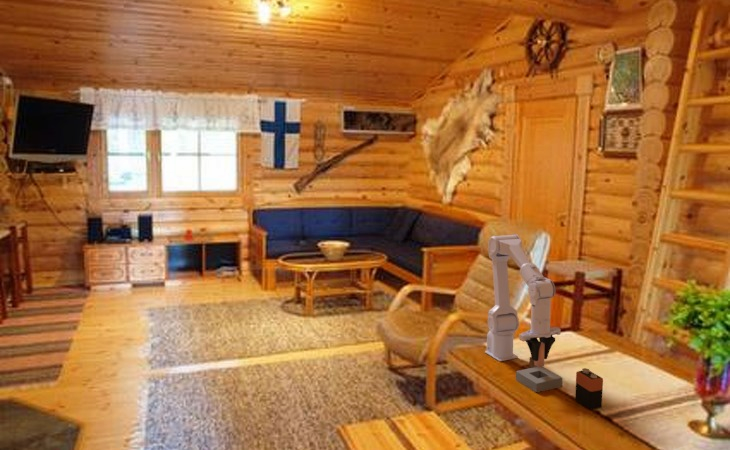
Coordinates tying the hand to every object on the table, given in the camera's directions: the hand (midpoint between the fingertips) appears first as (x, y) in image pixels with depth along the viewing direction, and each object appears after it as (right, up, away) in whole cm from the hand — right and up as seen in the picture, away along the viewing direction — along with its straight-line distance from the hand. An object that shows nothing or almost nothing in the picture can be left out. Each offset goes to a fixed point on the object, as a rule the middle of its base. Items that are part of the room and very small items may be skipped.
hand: (539, 359), depth 176 cm
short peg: (+2, -6, +12) cm, 13 cm away
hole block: (0, -8, +1) cm, 8 cm away
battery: (+10, -10, -13) cm, 19 cm away
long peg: (0, -2, 0) cm, 2 cm away
